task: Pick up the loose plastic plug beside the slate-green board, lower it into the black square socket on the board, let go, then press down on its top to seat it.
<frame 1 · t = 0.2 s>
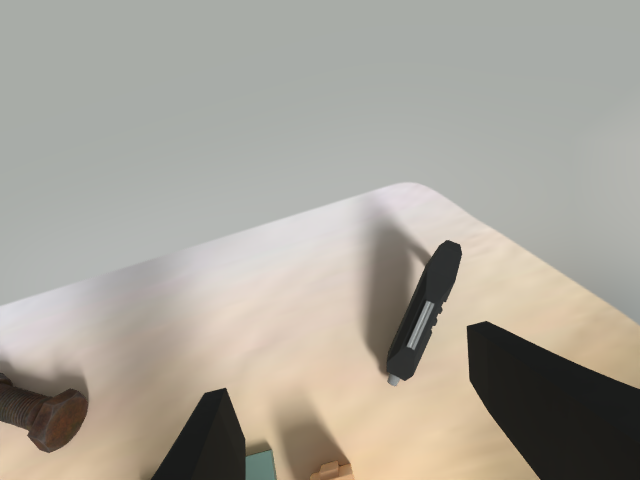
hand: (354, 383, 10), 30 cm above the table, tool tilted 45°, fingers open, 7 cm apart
bolt: (27, 402, 40), on the table
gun: (413, 321, 41), on the table
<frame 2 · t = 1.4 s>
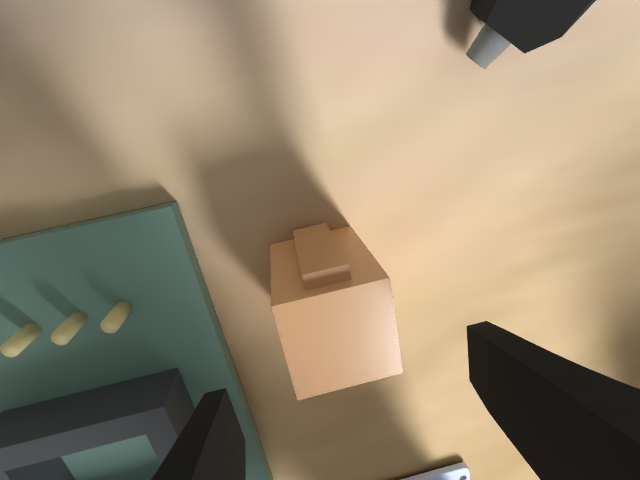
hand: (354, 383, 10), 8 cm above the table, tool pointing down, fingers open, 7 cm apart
header board: (110, 393, 18), on the table
plug: (318, 271, 18), on the table
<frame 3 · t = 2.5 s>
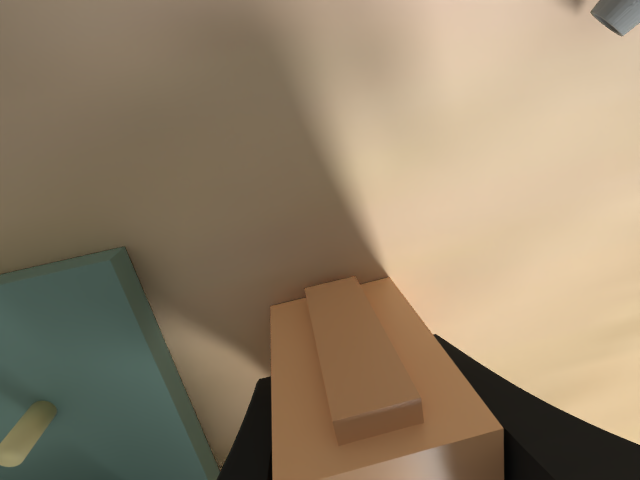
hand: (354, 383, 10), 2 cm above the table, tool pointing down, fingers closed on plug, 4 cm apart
plug: (340, 341, 12), on the table, touching gripper
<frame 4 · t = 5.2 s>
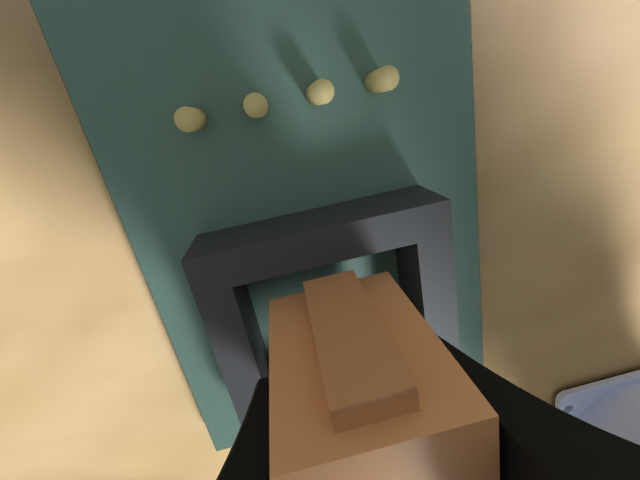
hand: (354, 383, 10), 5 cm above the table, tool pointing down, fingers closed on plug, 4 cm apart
header board: (313, 231, 14), on the table
plug: (339, 335, 12), point 3 cm above the table, touching gripper
when the fingers open (4 cm above the table, at t = 5.9 s): plug stays where it is, resting on header board.
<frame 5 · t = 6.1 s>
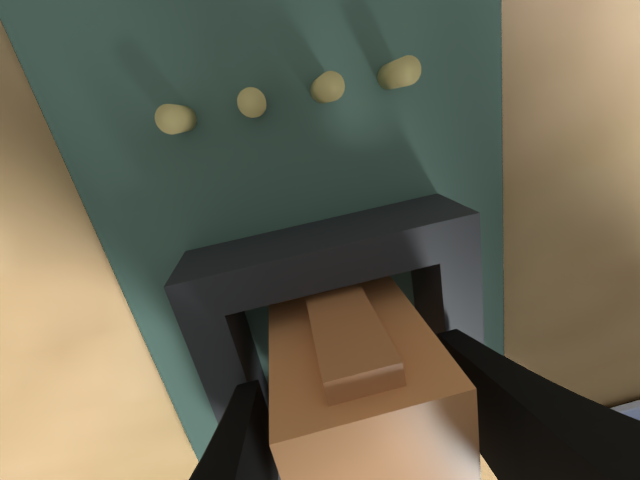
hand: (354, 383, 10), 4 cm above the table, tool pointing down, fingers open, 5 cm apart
header board: (317, 244, 13), on the table
plug: (335, 325, 13), point 1 cm above the table, touching header board
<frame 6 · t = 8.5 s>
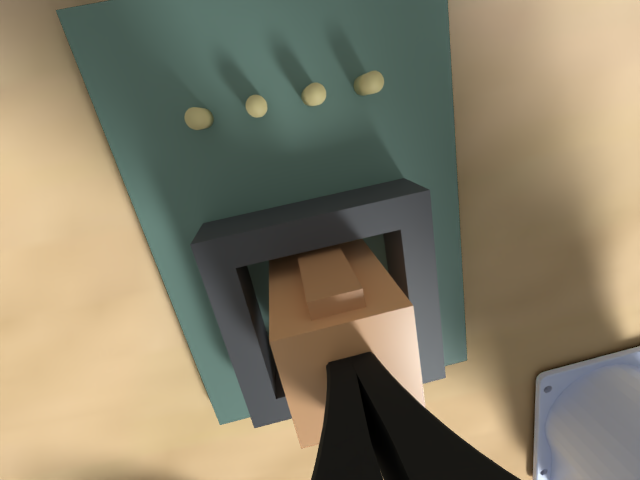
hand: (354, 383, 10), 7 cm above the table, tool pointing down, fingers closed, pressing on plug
header board: (308, 220, 16), on the table
plug: (323, 286, 16), point 1 cm above the table, touching gripper, header board
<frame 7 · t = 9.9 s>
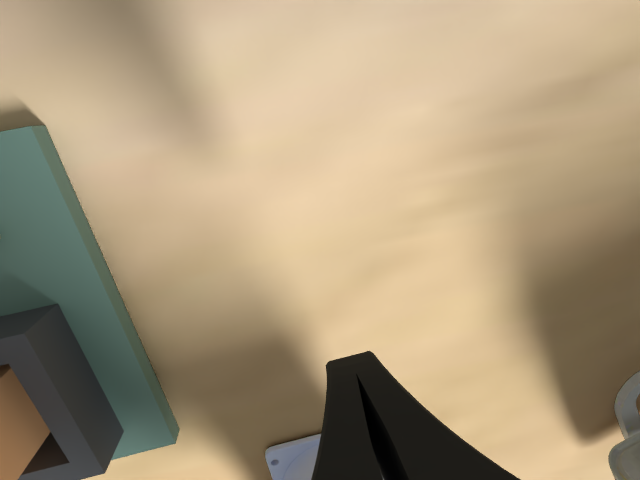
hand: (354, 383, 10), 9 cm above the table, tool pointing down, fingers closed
plug: (8, 390, 18), point 1 cm above the table, touching header board
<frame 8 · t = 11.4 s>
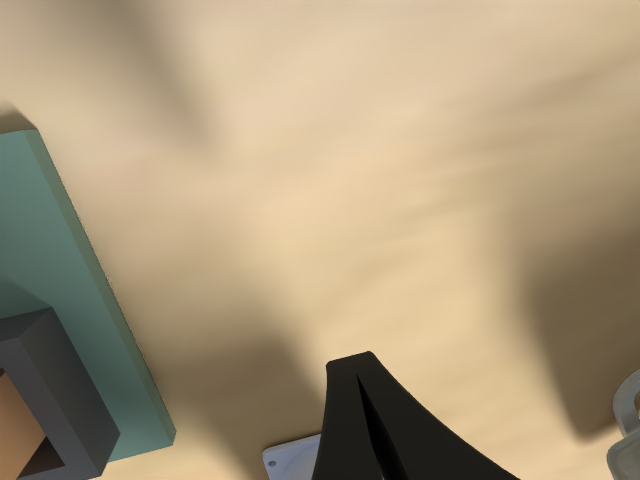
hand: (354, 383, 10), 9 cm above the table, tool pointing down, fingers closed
plug: (4, 393, 18), point 1 cm above the table, touching header board
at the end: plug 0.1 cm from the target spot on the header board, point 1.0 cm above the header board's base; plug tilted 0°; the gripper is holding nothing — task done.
